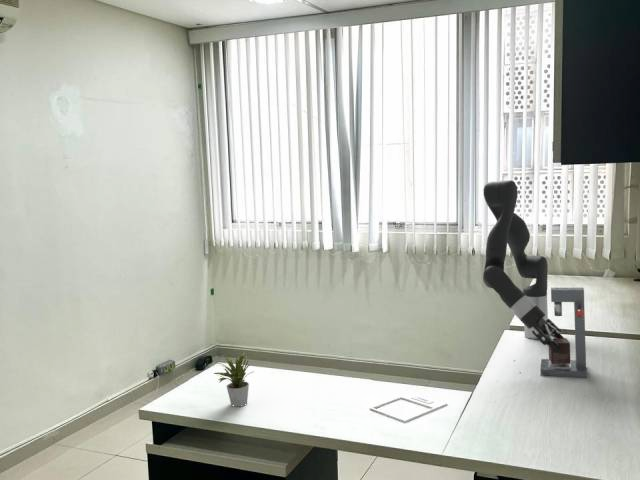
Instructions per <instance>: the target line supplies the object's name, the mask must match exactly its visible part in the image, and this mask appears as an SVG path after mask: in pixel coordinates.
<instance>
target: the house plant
mask: <svg viewBox="0 0 640 480" xmlns="http://www.w3.org/2000/svg"><path fill="white" fill-rule="evenodd" d="M245 354H246V351H244V352H243V353H242V354H241V356H239V355H237V356H236V359H235V365H234V363H233V361H232V360H231V359H229V358H228V357H226V356H224V355H222V358H224V359H225V360H226V362H227V364H228V366H229V367H228V366H226V365H225V364H223V363H221V362H220V363H219V362H217V364H218V365H219V366H221V367H222V366H223V369H224V371H225V372H213V374H214V375H219V376H220V378H219V379H218V381H219V382H218V383H219V384H220V383H221V382H223V381H225V380H226V381H229V383H228V384H227V385H226V389H227V394H228V398H229V401H230V406H231V405H234V406H241V405H245V404H246V405H247V404H248V400H249V399H248V398H249V386H250V385H249V381H246V377H247V376H248V375H250V374H252V373H253V371H251V372H249V373H248V374H246V371H247V369H248V368H249V367H250V365H251V364H252V362H253V361H251V362H250V363H249V360H250V357H249V358H248V355H246V356H245ZM247 358H248V359H247ZM248 363H249V364H248ZM246 405H245V406H246ZM241 407H242V406H241Z"/></svg>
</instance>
